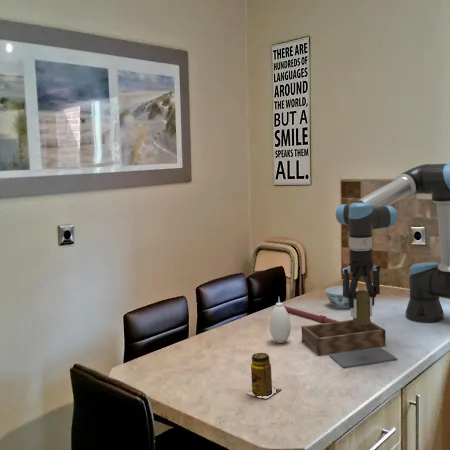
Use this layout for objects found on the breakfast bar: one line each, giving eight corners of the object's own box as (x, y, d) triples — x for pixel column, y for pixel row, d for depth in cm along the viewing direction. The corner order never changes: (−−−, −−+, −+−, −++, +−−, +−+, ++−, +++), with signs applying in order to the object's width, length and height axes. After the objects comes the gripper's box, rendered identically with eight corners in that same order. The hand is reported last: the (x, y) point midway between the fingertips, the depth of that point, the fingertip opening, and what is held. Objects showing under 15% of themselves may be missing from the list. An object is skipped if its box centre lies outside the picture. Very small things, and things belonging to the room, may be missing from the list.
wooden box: (365, 332, 211) (364, 318, 211) (385, 345, 197) (385, 330, 196) (302, 341, 205) (301, 326, 205) (318, 355, 191) (317, 339, 190)
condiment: (246, 394, 163) (244, 356, 162) (262, 384, 170) (261, 348, 168) (265, 400, 158) (264, 361, 157) (282, 390, 165) (280, 352, 163)
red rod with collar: (356, 331, 215) (356, 323, 215) (351, 333, 213) (351, 325, 213) (279, 309, 251) (279, 302, 250) (274, 310, 249) (274, 303, 248)
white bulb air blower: (295, 341, 206) (293, 295, 204) (282, 347, 200) (280, 300, 198) (278, 337, 211) (277, 292, 209) (266, 343, 206) (264, 297, 203)
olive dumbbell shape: (371, 325, 181) (371, 293, 179) (352, 324, 182) (352, 293, 180) (370, 319, 187) (369, 288, 185) (352, 319, 188) (351, 288, 186)
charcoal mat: (380, 349, 194) (380, 347, 194) (397, 360, 183) (397, 358, 183) (329, 356, 189) (329, 355, 189) (343, 368, 178) (343, 366, 178)
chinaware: (362, 310, 241) (362, 293, 240) (329, 311, 241) (328, 295, 240) (355, 301, 256) (354, 285, 254) (323, 302, 256) (322, 286, 255)
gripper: (340, 253, 175) (341, 322, 178) (391, 248, 179) (391, 316, 182) (331, 249, 183) (332, 315, 185) (379, 245, 187) (380, 310, 190)
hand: (361, 315), depth 184 cm, fingers closed on olive dumbbell shape, 5 cm apart
